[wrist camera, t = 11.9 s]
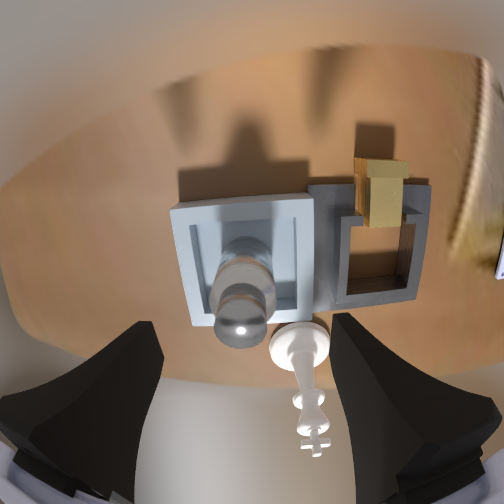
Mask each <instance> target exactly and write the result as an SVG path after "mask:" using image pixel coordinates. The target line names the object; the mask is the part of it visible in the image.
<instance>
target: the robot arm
mask: <svg viewBox="0 0 504 504" xmlns="http://www.w3.org/2000/svg"><path fill="white" fill-rule="evenodd" d="M495 277H496V278H497V279H503V278H504V239H503V245H502V249H501V254H500V258H499V262H498V267H497V270H496V274H495ZM329 357H330V362H331V368H332V373H333V377H334V380H335V383H336V386H337V389H338V393H339V396H340V399H341V402H342V405H343V409H344V412H345V415H346V419H347V422H348V427H349V433H350V439H351V446H352V453H353V461H354V471H355V484H356V504H504V448H502V449H501V450H500V451H498V452H497V453H495V454H494V455H492V456H491V457H489V458H488V459H486V460H485V461H484V462H482V463H481V460H480V458H479V457H481V456H482V455H483V451H482V449H481V447H480V446H481V445H482V444H483V443H484V442H485V441H486V440H487V439H488V438H489V437H490V436H491V435H492V434H493V433H494V432H495V430H496V429H497V428H498V427H499V425H500V423H501V421H502V415H501V413H500V412H499V410H498V408H497V407H496V405H495V403H494V402H493V400H492V399H491V398H488V397H484V396H481V395H477V394H474V393H470V392H466V391H464V390H461V389H458V388H456V387H453V386H451V385H448V384H446V383H444V382H441V381H439V380H437V379H435V378H433V377H431V376H429V375H428V374H426V373H424V372H422V371H420V370H419V369H417V368H416V367H414V366H412V365H411V364H409V363H408V362H406V361H405V360H403V359H402V358H400V357H399V356H398V355H396V354H395V353H394V352H392V351H391V350H390V349H388V348H387V347H386V346H385V345H384V344H382V343H381V342H380V341H379V340H378V339H377V338H375V337H374V336H373V335H372V334H371V333H370V332H369V331H368V330H366V329H365V328H364V327H363V326H362V325H361V324H360V323H359V322H358V321H357V320H356V319H355V318H354V317H353V316H351V315H350V314H349V313H348V312H347V313H338V314H333V320H332V329H331V338H330V347H329ZM163 362H164V355H163V353H162V350H161V347H160V344H159V341H158V338H157V336H156V333H155V330H154V327H153V324H152V321H138V322H137V323H135V324H134V325H132V326H131V327H130V328H128V329H127V330H126V331H125V332H123V333H122V334H121V335H120V336H118V337H117V338H116V339H115V340H113V341H112V342H111V343H110V344H108V345H107V346H106V347H104V348H103V349H102V350H100V351H99V352H98V353H96V354H95V355H94V356H92V357H91V358H90V359H88V360H87V361H85V362H84V363H82V364H81V365H79V366H78V367H76V368H74V369H73V370H71V371H70V372H68V373H66V374H64V375H62V376H60V377H58V378H56V379H54V380H52V381H50V382H48V383H45V384H43V385H40V386H38V387H36V388H33V389H29V390H26V391H23V392H19V393H16V394H11V395H7V396H3V397H2V398H1V399H0V431H1V432H2V433H3V434H4V435H5V436H6V437H7V438H8V439H9V440H10V441H11V442H12V443H13V444H14V445H15V446H16V447H17V448H18V451H17V453H16V452H15V451H13V450H12V449H11V448H9V447H8V446H7V445H5V444H4V443H2V442H1V441H0V499H1V500H2V501H3V502H4V503H5V504H111V503H114V504H134V485H135V484H134V483H135V470H136V461H137V454H138V448H139V442H140V437H141V433H142V427H143V424H144V421H145V418H146V415H147V412H148V409H149V406H150V404H151V401H152V398H153V396H154V393H155V390H156V387H157V385H158V382H159V379H160V376H161V371H162V367H163ZM101 499H102V500H101ZM103 500H105V501H103ZM106 501H107V502H106ZM109 502H111V503H109Z"/></svg>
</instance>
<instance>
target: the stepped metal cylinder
mask: <svg viewBox="0 0 504 504" xmlns="http://www.w3.org/2000/svg"><path fill="white" fill-rule="evenodd" d="M209 304H210V308H211V311H212V313H213V314H214V316H215V322H214V332H215V334H216V336H217V338H218V339H219V340H220V341H221V342H222V343H224V344H226V345H227V346H230V347H233V348H238V349H245V348H250V347H253V346H256V345H257V344H259V343H260V342H261V341H262V340H263V339H264V338H265V336H266V333H267V321H269V319H270V318H271V317H272V316H273V314H274V312H275V310H276V305H277V300H276V290H275V281H274V272H273V263H272V256H271V252H270V250H269V248H268V247H267V246H266V245H265V244H264V243H263V242H262V241H260V240H259V239H256V238H253V237H240V238H237V239H234V240H233V241H231V242H230V243H229V244H228V245H227V246H226V247H225V249H224V251H223V253H222V257H221V260H220V263H219V266H218V269H217V273H216V276H215V279H214V282H213V286H212V289H211V292H210V296H209Z"/></svg>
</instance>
